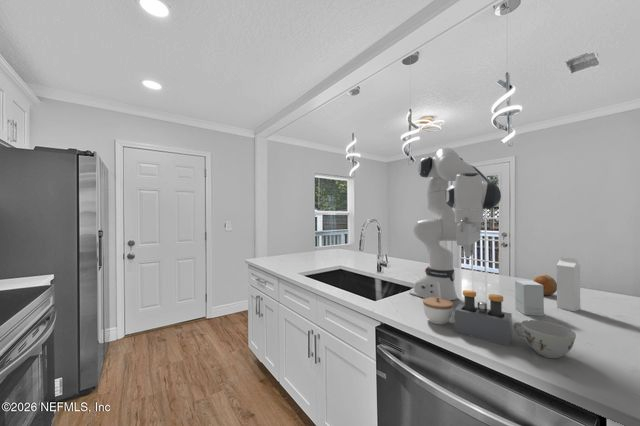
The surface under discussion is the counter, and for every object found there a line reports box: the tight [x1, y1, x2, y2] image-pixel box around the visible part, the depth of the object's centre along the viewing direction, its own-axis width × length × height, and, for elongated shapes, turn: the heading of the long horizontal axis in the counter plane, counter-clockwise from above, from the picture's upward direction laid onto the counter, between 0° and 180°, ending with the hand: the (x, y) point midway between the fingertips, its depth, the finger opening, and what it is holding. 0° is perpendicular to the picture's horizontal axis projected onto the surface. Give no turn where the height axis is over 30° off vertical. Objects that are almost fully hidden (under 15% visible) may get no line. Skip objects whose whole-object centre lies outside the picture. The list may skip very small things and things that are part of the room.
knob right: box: [488, 293, 504, 318], centre depth 91 cm, size 4×4×9 cm
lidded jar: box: [422, 297, 454, 326], centre depth 105 cm, size 11×11×9 cm
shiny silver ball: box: [477, 301, 488, 313], centre depth 93 cm, size 3×3×3 cm
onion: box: [532, 274, 557, 296], centre depth 136 cm, size 10×10×10 cm
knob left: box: [462, 289, 477, 312], centre depth 96 cm, size 4×4×9 cm
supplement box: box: [514, 280, 545, 317], centre depth 113 cm, size 7×7×13 cm
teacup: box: [513, 319, 577, 359], centre depth 82 cm, size 15×12×8 cm
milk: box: [556, 256, 581, 312], centre depth 117 cm, size 6×6×22 cm
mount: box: [454, 303, 513, 347], centre depth 94 cm, size 16×8×8 cm, turn 50°
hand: (469, 255), depth 96 cm, fingers open, 3 cm apart
